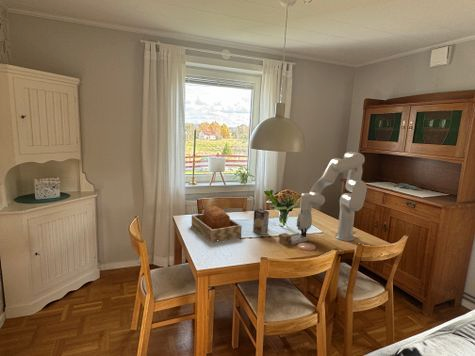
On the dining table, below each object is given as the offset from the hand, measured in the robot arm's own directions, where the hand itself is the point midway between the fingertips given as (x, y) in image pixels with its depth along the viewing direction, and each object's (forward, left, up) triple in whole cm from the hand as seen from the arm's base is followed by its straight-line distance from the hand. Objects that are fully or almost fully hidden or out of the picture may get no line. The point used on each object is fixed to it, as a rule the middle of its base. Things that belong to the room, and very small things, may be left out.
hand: (303, 237), depth 193 cm
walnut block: (+17, 0, -1) cm, 17 cm away
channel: (+8, 0, -1) cm, 8 cm away
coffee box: (+21, -22, -1) cm, 30 cm away
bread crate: (+49, -38, -1) cm, 62 cm away
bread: (+47, -40, -1) cm, 62 cm away
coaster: (+9, +12, -1) cm, 15 cm away
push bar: (+8, +1, -1) cm, 8 cm away
